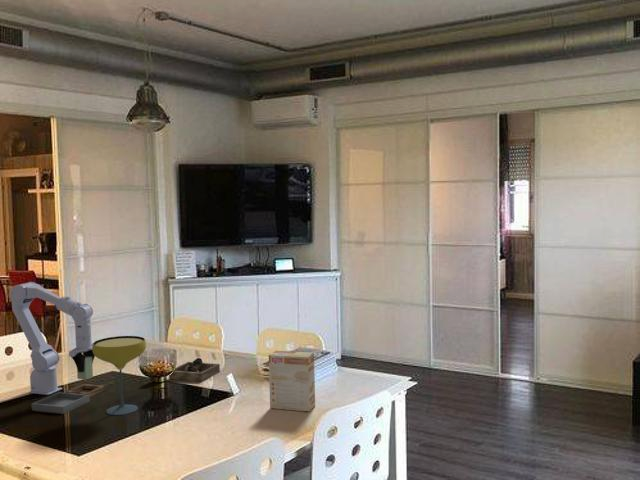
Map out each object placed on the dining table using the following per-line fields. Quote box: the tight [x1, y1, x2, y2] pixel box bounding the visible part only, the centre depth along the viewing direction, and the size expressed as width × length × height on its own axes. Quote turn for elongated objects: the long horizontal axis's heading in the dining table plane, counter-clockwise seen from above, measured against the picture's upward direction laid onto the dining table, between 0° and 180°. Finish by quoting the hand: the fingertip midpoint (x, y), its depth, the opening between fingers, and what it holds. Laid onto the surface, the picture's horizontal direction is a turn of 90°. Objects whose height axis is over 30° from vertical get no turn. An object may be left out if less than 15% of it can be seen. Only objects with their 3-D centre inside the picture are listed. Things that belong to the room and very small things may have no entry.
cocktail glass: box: [92, 335, 147, 416], centre depth 225 cm, size 18×18×25 cm
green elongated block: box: [76, 356, 94, 381], centre depth 247 cm, size 4×4×8 cm
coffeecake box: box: [268, 350, 316, 413], centre depth 225 cm, size 15×7×20 cm, turn 71°
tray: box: [30, 391, 91, 415], centre depth 232 cm, size 14×14×2 cm
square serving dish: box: [168, 361, 221, 383], centre depth 268 cm, size 15×15×4 cm
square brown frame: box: [65, 383, 107, 398], centre depth 248 cm, size 10×10×2 cm
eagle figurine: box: [185, 357, 204, 373], centre depth 270 cm, size 8×7×9 cm
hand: (84, 370), depth 247 cm, fingers closed on green elongated block, 4 cm apart
